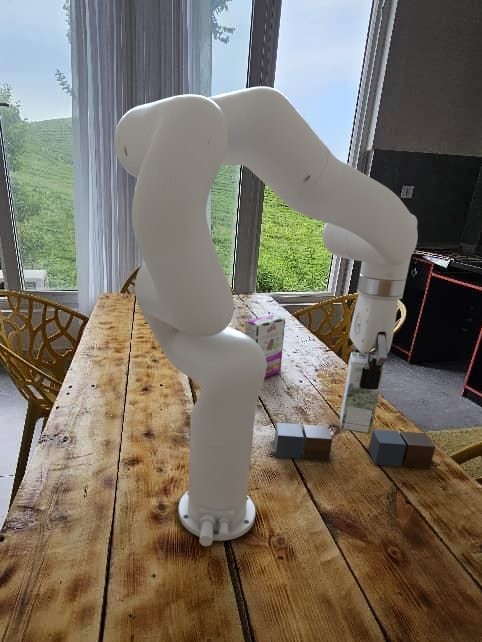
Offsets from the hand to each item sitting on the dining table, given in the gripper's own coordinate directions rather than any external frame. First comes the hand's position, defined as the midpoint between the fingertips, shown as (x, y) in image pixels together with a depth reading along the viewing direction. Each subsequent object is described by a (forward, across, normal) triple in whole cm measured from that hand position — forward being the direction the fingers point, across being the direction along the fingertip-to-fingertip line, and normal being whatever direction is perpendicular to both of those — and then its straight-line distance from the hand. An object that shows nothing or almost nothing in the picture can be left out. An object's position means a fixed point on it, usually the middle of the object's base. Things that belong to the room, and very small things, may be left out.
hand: (363, 379), depth 84 cm
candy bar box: (+17, -38, -16) cm, 45 cm away
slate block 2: (+17, 0, +7) cm, 18 cm away
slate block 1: (+17, 0, -12) cm, 21 cm away
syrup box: (+10, 0, 0) cm, 10 cm away
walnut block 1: (+17, 0, -7) cm, 18 cm away
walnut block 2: (+17, 0, +12) cm, 21 cm away
